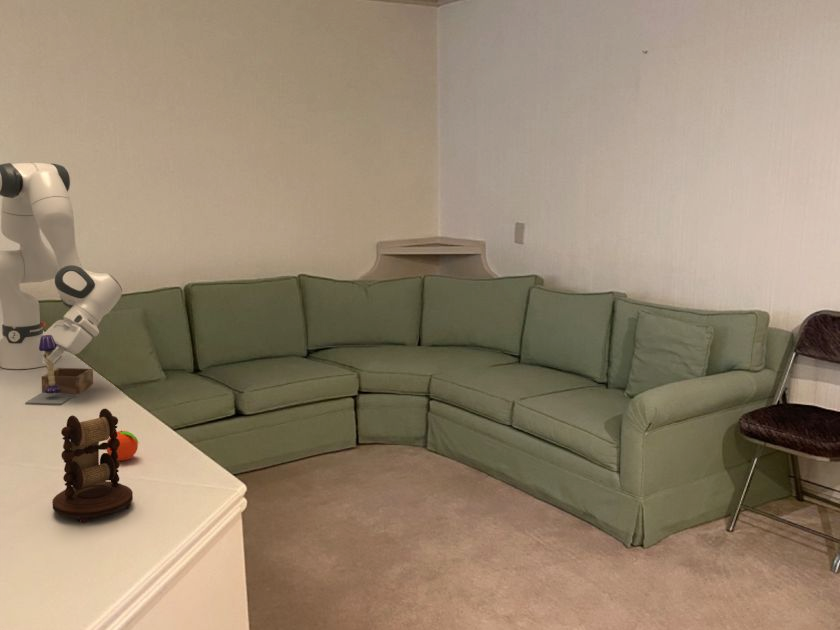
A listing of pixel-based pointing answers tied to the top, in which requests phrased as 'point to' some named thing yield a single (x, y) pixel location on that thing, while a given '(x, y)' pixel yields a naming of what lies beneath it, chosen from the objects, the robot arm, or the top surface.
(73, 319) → the robot arm
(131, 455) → the clementine
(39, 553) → the top surface
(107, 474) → the brown wooden spool rack
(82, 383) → the walnut crate
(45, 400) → the slate mat
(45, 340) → the toy lamp
